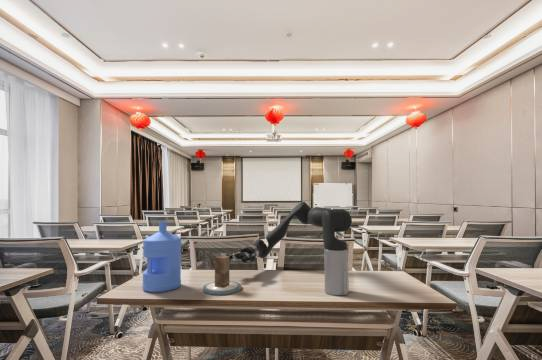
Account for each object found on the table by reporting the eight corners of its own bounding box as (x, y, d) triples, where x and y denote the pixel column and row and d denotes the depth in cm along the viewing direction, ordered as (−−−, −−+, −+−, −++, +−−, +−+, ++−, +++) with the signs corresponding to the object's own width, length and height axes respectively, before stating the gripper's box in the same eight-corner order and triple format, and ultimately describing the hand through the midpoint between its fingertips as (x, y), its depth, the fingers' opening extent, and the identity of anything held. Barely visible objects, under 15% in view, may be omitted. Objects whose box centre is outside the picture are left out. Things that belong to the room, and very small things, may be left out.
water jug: (164, 280, 139) (165, 220, 141) (188, 285, 131) (189, 221, 133) (134, 289, 126) (135, 222, 128) (158, 295, 118) (159, 224, 120)
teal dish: (247, 285, 130) (247, 282, 130) (230, 297, 115) (230, 293, 115) (215, 282, 136) (215, 279, 136) (194, 292, 121) (194, 289, 121)
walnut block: (229, 284, 127) (229, 256, 128) (224, 287, 123) (224, 258, 124) (220, 283, 129) (220, 255, 129) (214, 286, 124) (214, 257, 125)
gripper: (236, 245, 154) (221, 250, 139) (262, 246, 150) (249, 252, 134) (236, 260, 154) (221, 267, 139) (262, 261, 149) (249, 269, 134)
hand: (234, 259), depth 137 cm, fingers open, 8 cm apart
